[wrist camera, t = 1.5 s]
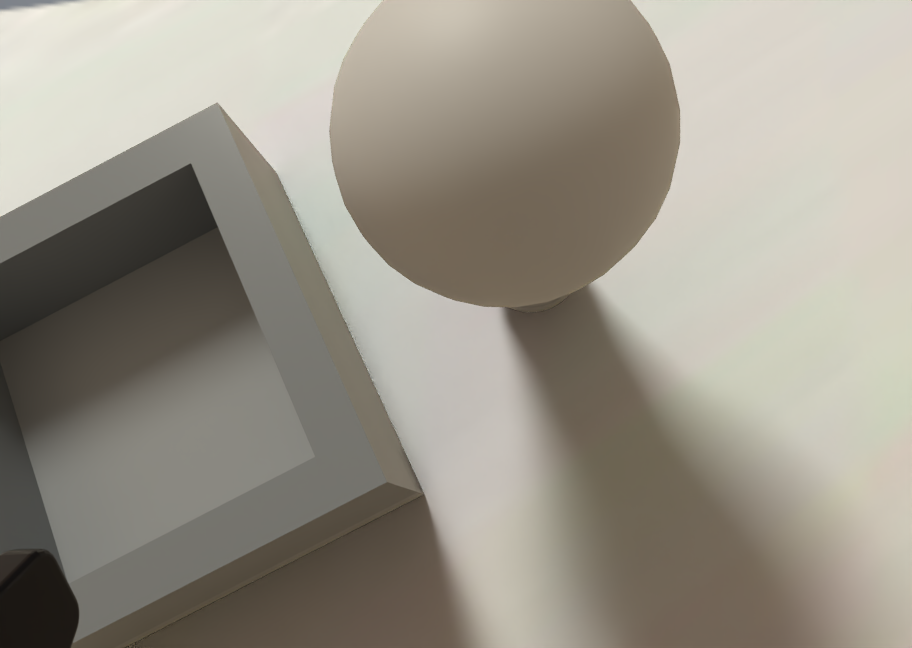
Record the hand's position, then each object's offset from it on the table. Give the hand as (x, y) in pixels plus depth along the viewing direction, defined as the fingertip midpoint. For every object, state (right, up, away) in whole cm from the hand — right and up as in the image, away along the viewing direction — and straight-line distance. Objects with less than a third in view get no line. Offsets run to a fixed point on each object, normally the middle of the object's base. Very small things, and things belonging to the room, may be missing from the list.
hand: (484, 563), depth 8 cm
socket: (-8, 0, +15) cm, 17 cm away
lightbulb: (+2, +4, +14) cm, 15 cm away
